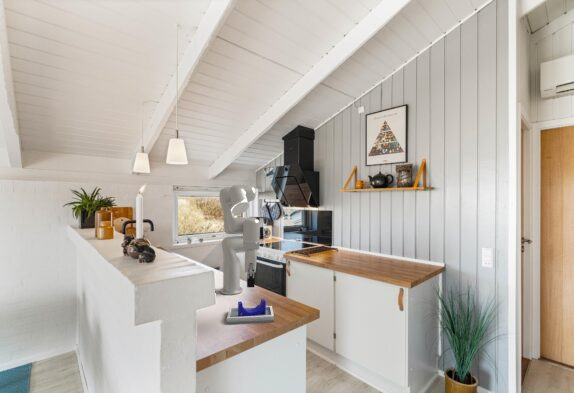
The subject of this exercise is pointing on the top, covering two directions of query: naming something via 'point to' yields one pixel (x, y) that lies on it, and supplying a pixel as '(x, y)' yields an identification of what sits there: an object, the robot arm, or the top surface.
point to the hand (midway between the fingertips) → (250, 283)
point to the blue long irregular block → (253, 312)
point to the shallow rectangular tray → (235, 319)
